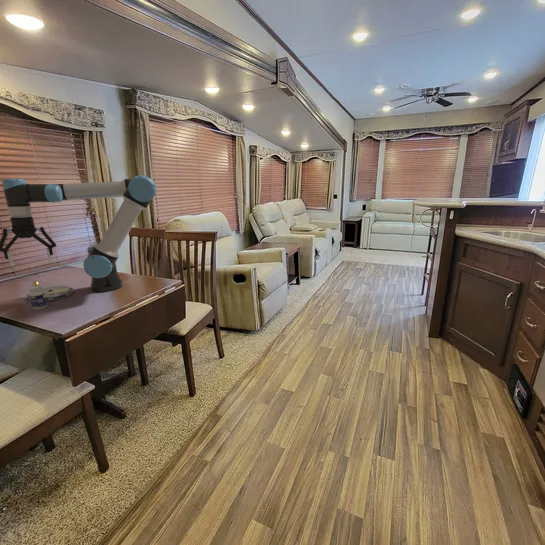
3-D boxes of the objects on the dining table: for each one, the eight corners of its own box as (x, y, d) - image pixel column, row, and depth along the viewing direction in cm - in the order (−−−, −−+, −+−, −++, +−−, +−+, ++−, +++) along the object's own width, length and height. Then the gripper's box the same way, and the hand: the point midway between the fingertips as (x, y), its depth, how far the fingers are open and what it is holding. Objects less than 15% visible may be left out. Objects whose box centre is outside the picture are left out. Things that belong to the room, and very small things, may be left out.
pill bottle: (31, 310, 130) (25, 289, 127) (34, 306, 134) (29, 286, 132) (45, 308, 132) (40, 288, 129) (49, 304, 136) (44, 284, 134)
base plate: (81, 290, 153) (81, 290, 153) (48, 303, 137) (48, 303, 137) (54, 288, 158) (53, 287, 157) (19, 300, 141) (18, 299, 141)
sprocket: (72, 285, 159) (69, 274, 157) (73, 295, 145) (71, 283, 143) (29, 292, 149) (26, 280, 147) (26, 304, 135) (22, 290, 133)
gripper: (57, 214, 135) (65, 259, 141) (-16, 216, 122) (-4, 265, 128) (56, 216, 129) (65, 262, 135) (-21, 218, 116) (-8, 269, 122)
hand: (31, 264), depth 132 cm, fingers open, 13 cm apart
